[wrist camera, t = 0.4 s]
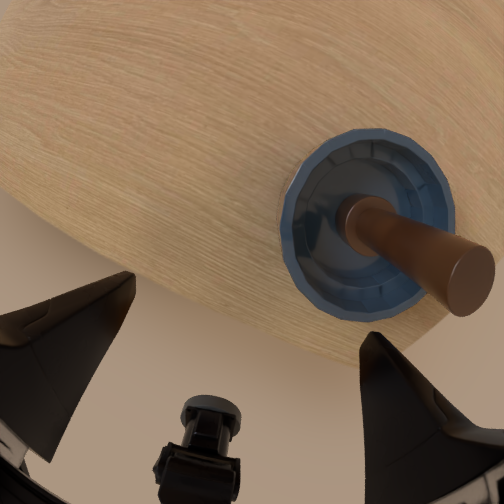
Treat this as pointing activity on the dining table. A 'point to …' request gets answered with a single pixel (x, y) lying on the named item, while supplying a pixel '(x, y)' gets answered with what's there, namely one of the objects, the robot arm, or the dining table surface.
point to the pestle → (419, 252)
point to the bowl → (324, 212)
